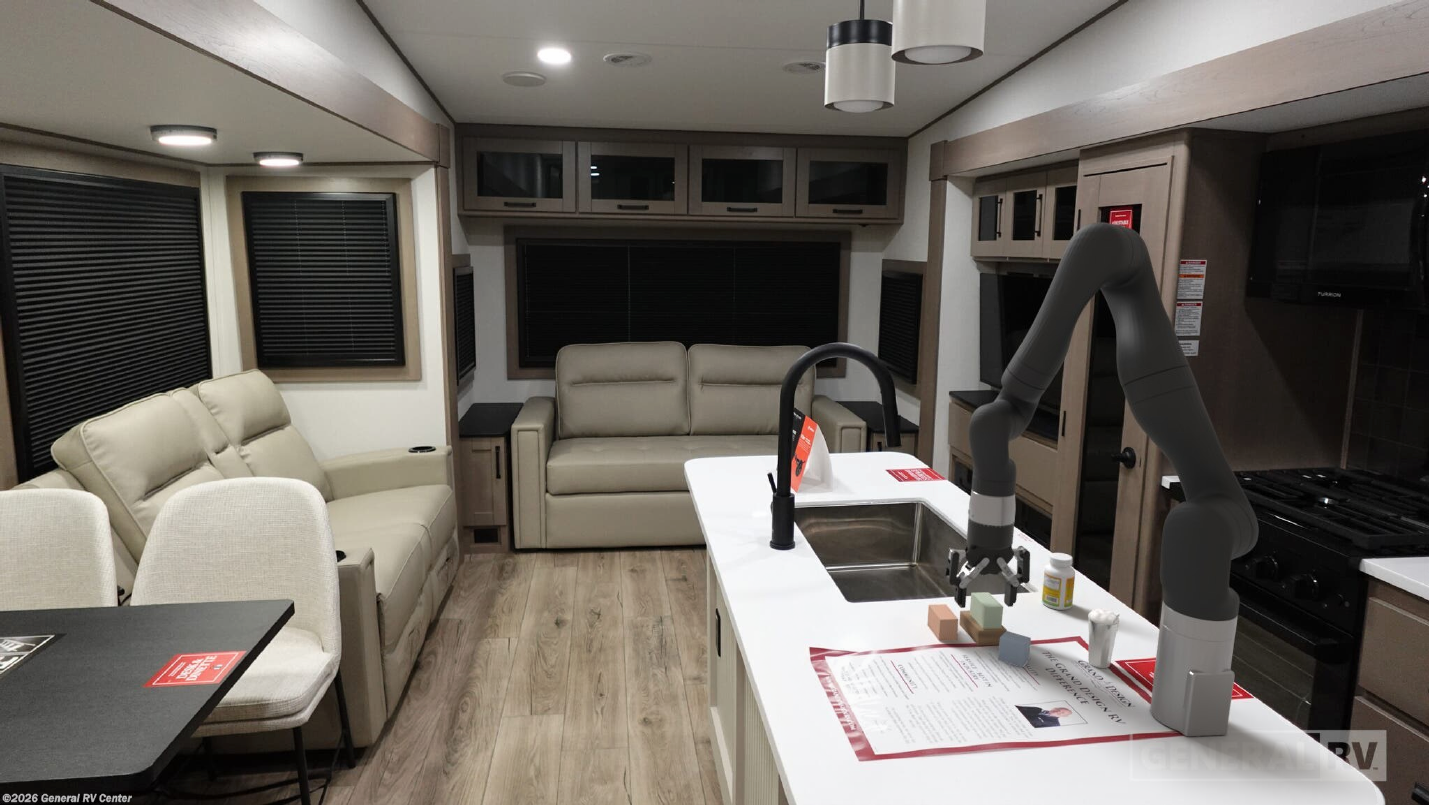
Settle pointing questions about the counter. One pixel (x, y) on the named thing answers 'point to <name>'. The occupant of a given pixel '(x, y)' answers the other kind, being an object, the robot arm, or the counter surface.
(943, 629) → the terracotta brick
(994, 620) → the sage brick
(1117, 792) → the counter surface
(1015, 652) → the slate brick
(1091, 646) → the milkshake
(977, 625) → the walnut block
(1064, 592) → the supplement bottle
